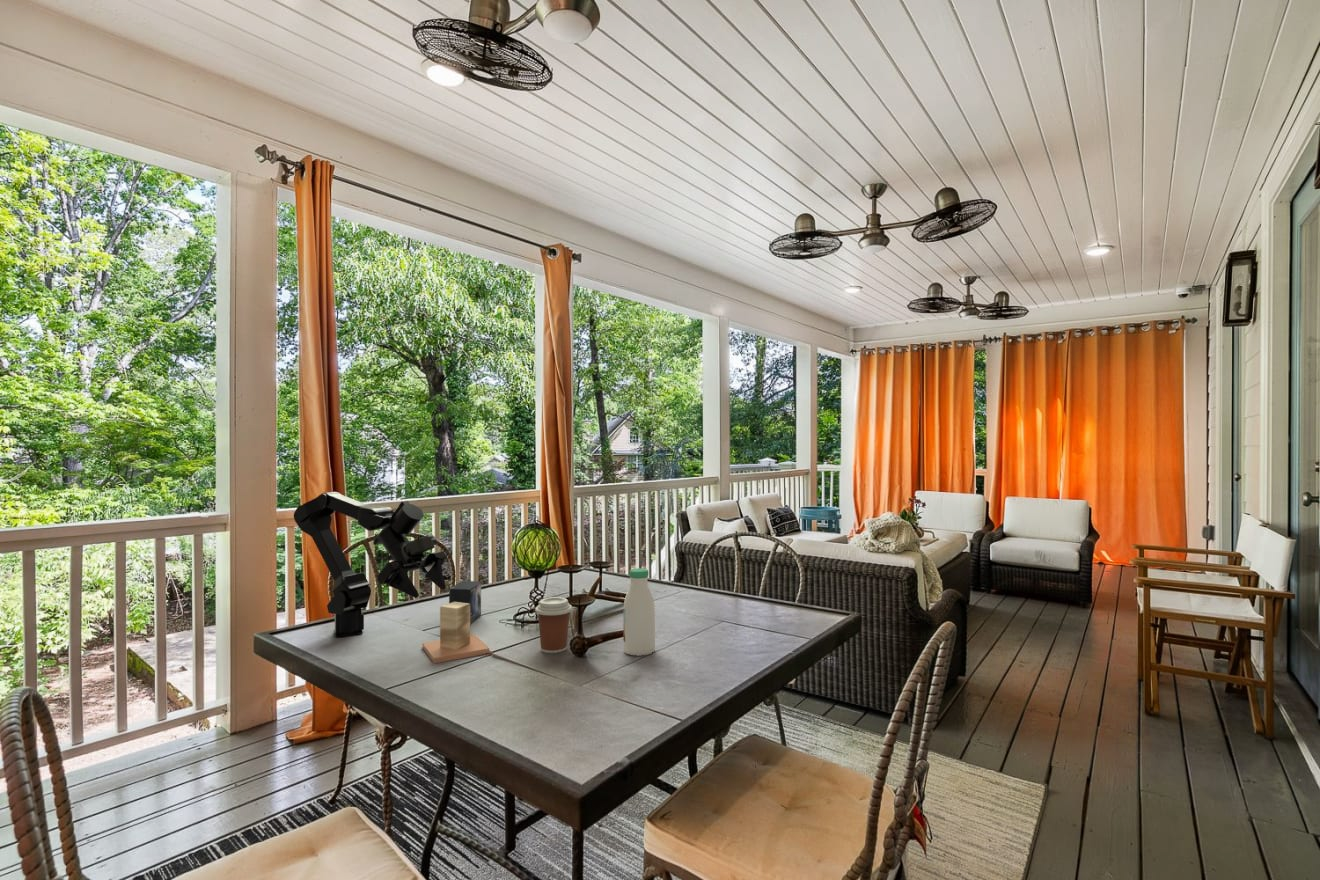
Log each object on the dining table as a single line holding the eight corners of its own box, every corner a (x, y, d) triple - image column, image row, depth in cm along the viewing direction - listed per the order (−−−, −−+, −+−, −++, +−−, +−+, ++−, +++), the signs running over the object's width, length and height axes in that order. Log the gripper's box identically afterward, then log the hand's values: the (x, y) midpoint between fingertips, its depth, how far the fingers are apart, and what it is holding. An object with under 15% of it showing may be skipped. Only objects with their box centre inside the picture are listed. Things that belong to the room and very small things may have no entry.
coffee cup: (528, 652, 151) (527, 603, 151) (547, 641, 159) (547, 594, 159) (561, 656, 148) (560, 606, 148) (578, 645, 156) (578, 597, 156)
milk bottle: (661, 651, 152) (661, 569, 152) (639, 659, 146) (639, 574, 146) (639, 644, 157) (639, 565, 157) (616, 651, 151) (616, 569, 151)
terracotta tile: (433, 663, 143) (433, 658, 143) (422, 647, 154) (422, 642, 154) (489, 653, 150) (489, 648, 150) (474, 638, 161) (474, 634, 161)
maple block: (456, 650, 149) (456, 608, 149) (440, 647, 151) (440, 606, 151) (470, 643, 154) (470, 603, 154) (454, 641, 156) (454, 601, 156)
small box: (470, 626, 173) (470, 588, 173) (447, 626, 173) (447, 588, 173) (482, 615, 184) (482, 580, 184) (460, 615, 184) (460, 580, 184)
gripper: (385, 529, 149) (421, 579, 145) (441, 520, 166) (474, 564, 162) (362, 560, 152) (395, 609, 148) (418, 548, 169) (450, 592, 165)
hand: (431, 592), depth 155 cm, fingers open, 9 cm apart
